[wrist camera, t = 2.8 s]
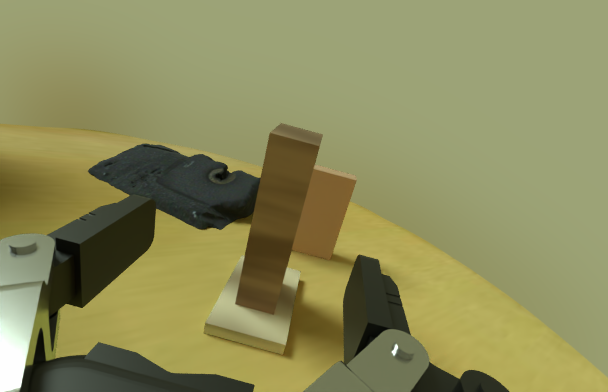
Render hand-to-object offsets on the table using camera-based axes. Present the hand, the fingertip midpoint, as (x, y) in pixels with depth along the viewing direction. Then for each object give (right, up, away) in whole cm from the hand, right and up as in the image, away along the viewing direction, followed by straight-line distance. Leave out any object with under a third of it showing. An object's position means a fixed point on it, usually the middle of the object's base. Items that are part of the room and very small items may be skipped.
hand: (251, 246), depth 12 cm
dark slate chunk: (-15, +3, +32) cm, 35 cm away
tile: (+1, -4, +24) cm, 25 cm away
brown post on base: (-2, -7, +15) cm, 17 cm away
